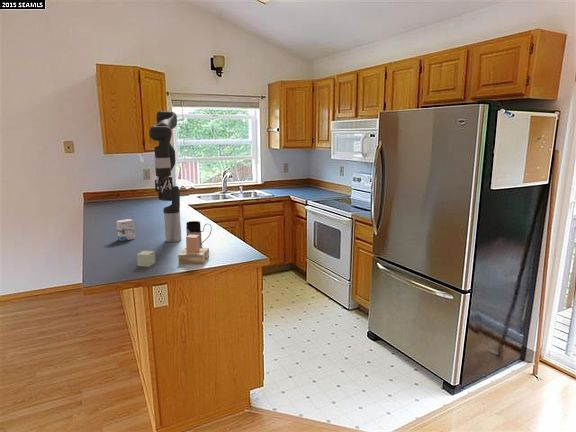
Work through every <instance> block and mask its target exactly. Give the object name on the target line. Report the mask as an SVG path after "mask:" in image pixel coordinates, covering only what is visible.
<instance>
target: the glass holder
mask: <svg viewBox="0 0 576 432" xmlns="http://www.w3.org/2000/svg"><path fill="white" fill-rule="evenodd" d="M185 225H186V228H185V229H186V237H187V236H188V235H199V244H200V248H203V244H204V242H205V241H207V240H208V238H209V237H210V236H211V234H212V225H211V224H210V223H204V225H203V228H202V227H201V221H197V220H191V221H187V222H186V223H185ZM207 225H209V226H210V233H209V235H207V237H206V238H205V239H204V240H203V241H202V233H203V232H204V231H205V226H207ZM201 229H203V230H201Z"/></svg>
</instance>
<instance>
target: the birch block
mask: <svg viewBox="0 0 576 432" xmlns="http://www.w3.org/2000/svg"><path fill="white" fill-rule="evenodd" d="M209 251H210V250H209V248H208V247H207V248H206V247H205V248H204V247H202V248H200V250H199V251H198V252H197V253H187V250H186V247H185V248H184V249H183V250H182V251H181V252H180V253H179V254H178V256H177V257H178V264H179V265H204V264H205V263H206V261H207V260H208V259H209V257H210V252H209Z"/></svg>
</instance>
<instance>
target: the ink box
mask: <svg viewBox="0 0 576 432" xmlns="http://www.w3.org/2000/svg"><path fill="white" fill-rule="evenodd" d="M134 224H135V223H134V219H131V218H129V219H127V218H126V219H120V220H116V232H117V234H116V235H117V240H118V241H120V242H125V241H129V240H130V241H131V240H134V239H136V236H135V227H134V226H135V225H134Z"/></svg>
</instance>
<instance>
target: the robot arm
mask: <svg viewBox="0 0 576 432" xmlns="http://www.w3.org/2000/svg"><path fill="white" fill-rule="evenodd" d="M177 125H178V117H177V114H176V112H174V111H170V110H169V111H168V110H167V111H165V110H160V111H159V110H158V111H157V113H156V124H155V125H151V127H149V132H148V134H149V137H150V139H151V140H153V141H155V142H158V145H156V146H155V147H154V150H153V151H154V169H155V170H154V171H155V176H156V177H158V179H154V191H155V192H157V194H158V200H160V201H163V202H171V204H169V205H167V206H165V207H163V209H162V210H163V220H164V221H163V222H164V224H163V225H164V237H165V238H164V240H165V242H168V243H175V242H176V243H177V242H180V241H181V240H182V225H181V224H182V223H181V211H180V208H181V200H180V199H181V192H180V187H179V186H178V185H175V184H173V183H174V182H173V177H172V171H173V169H174V167H175V165H176V162H177V161H176V151H175V147H174V146H173V145H172V143H171V139H172V135H173V131H172V130H173V129H175V128H176V127H177Z"/></svg>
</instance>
